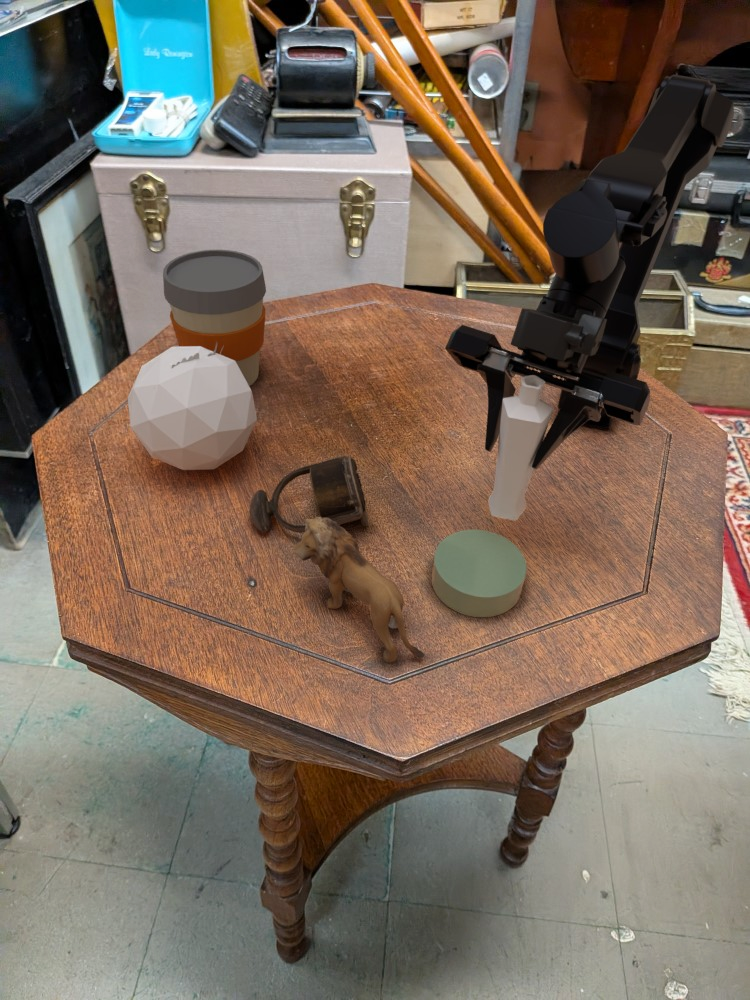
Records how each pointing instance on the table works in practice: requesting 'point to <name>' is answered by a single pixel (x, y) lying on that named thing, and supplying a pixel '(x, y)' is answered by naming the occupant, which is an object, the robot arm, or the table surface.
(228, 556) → the table surface
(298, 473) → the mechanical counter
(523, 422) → the perfume bottle
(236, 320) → the reusable coffee cup
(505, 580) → the ceramic stand
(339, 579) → the lion figurine
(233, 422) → the geodesic sphere
